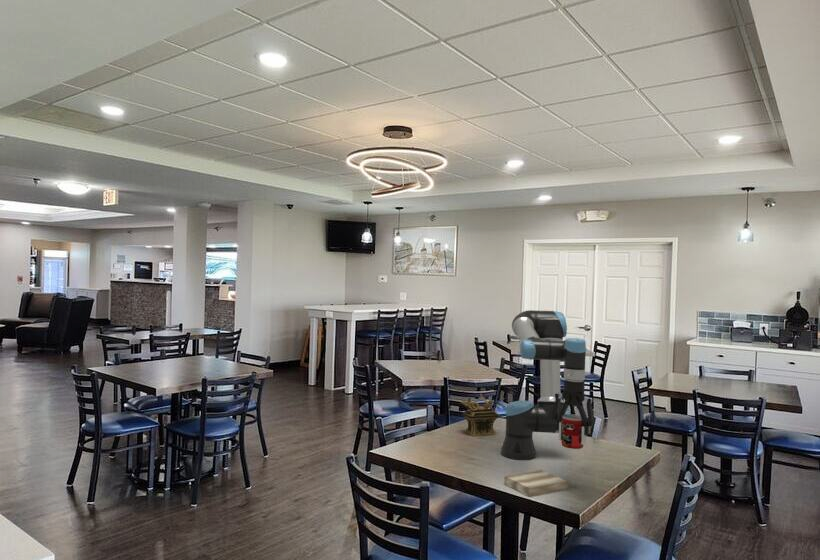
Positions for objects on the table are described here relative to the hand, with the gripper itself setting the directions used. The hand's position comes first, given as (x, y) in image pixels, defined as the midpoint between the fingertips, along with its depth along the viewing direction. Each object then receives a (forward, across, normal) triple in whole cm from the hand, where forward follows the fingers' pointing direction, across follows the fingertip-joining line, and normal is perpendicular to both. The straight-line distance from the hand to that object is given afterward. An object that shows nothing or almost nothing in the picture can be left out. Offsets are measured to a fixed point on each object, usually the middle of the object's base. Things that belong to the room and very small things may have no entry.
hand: (572, 441), depth 207 cm
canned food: (+2, 0, 0) cm, 2 cm away
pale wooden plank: (+17, -10, -8) cm, 22 cm away
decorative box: (+18, -65, +44) cm, 80 cm away
